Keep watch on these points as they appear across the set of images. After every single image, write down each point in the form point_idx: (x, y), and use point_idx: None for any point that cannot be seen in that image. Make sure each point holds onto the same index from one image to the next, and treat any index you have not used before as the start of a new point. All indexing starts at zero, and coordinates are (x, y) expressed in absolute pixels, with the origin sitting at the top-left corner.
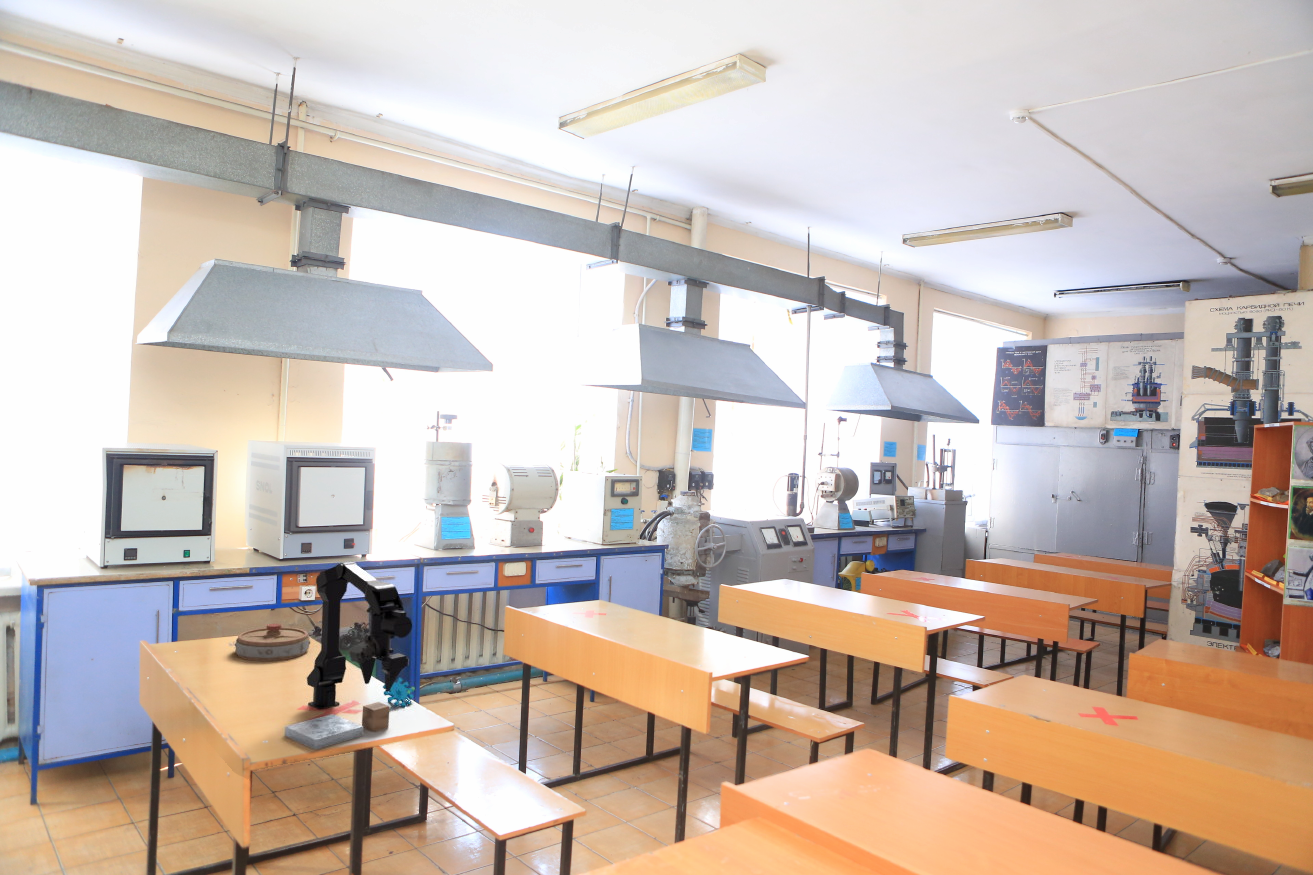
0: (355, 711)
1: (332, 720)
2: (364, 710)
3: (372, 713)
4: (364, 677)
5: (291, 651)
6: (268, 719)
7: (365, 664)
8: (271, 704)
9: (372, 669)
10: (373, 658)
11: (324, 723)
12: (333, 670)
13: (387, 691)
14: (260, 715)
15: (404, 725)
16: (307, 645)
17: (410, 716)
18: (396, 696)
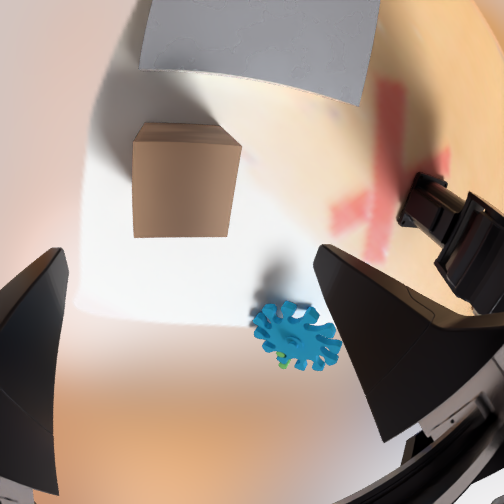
0: (342, 217)
1: (310, 46)
2: (220, 139)
3: (148, 136)
4: (356, 265)
5: None
6: (457, 64)
7: (421, 353)
8: (481, 146)
9: (351, 355)
10: (393, 425)
11: (309, 7)
12: (482, 251)
13: (310, 321)
14: (474, 82)
15: (120, 240)
16: (476, 311)
17: (179, 293)
18: (284, 325)
